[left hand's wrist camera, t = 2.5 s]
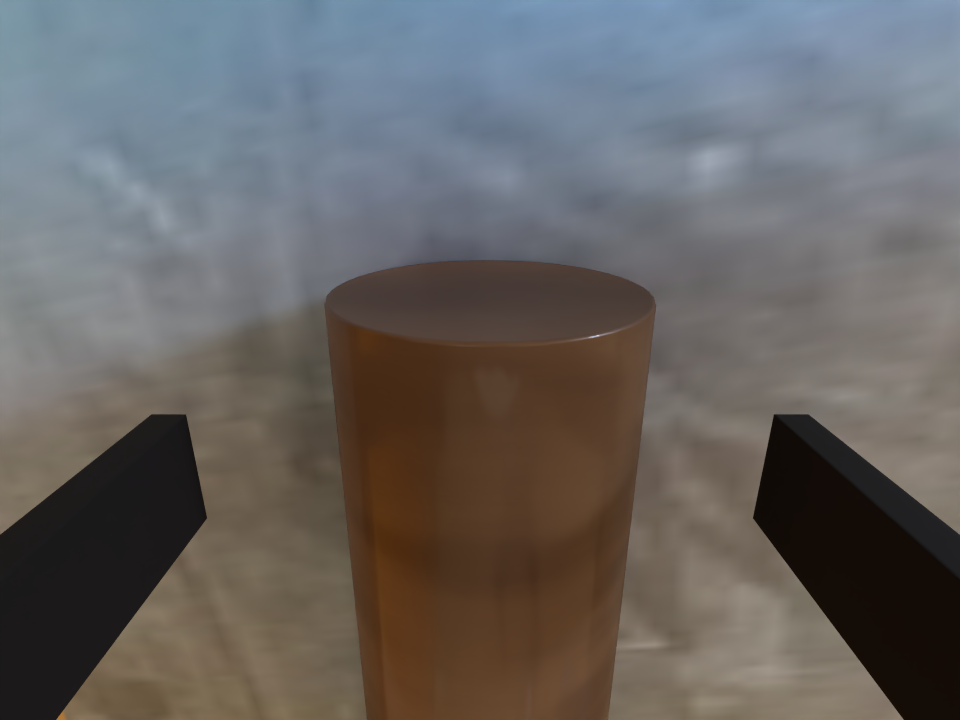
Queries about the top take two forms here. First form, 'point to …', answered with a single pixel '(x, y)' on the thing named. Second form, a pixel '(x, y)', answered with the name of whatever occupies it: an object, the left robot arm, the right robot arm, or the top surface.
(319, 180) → the top surface
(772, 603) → the top surface
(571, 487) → the rod
